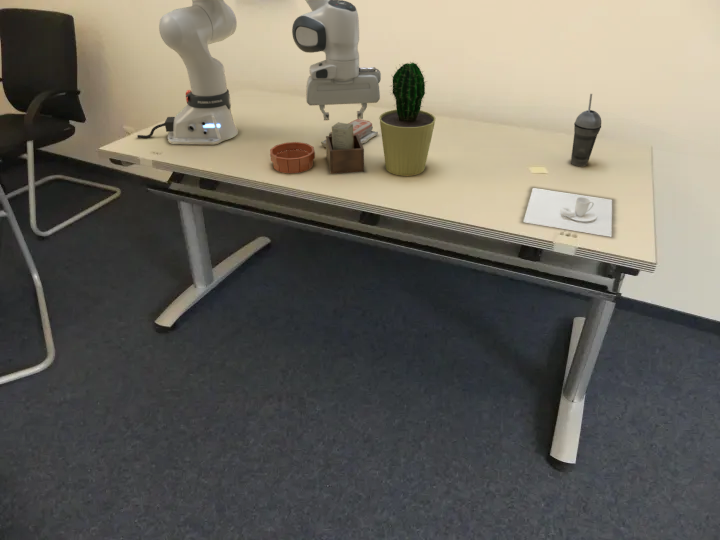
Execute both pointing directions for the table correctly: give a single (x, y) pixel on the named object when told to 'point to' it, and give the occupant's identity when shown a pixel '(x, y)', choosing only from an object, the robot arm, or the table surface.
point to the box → (342, 136)
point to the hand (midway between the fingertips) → (343, 119)
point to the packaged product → (360, 130)
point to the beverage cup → (585, 135)
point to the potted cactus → (407, 124)
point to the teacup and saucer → (570, 212)
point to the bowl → (292, 157)
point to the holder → (345, 157)
